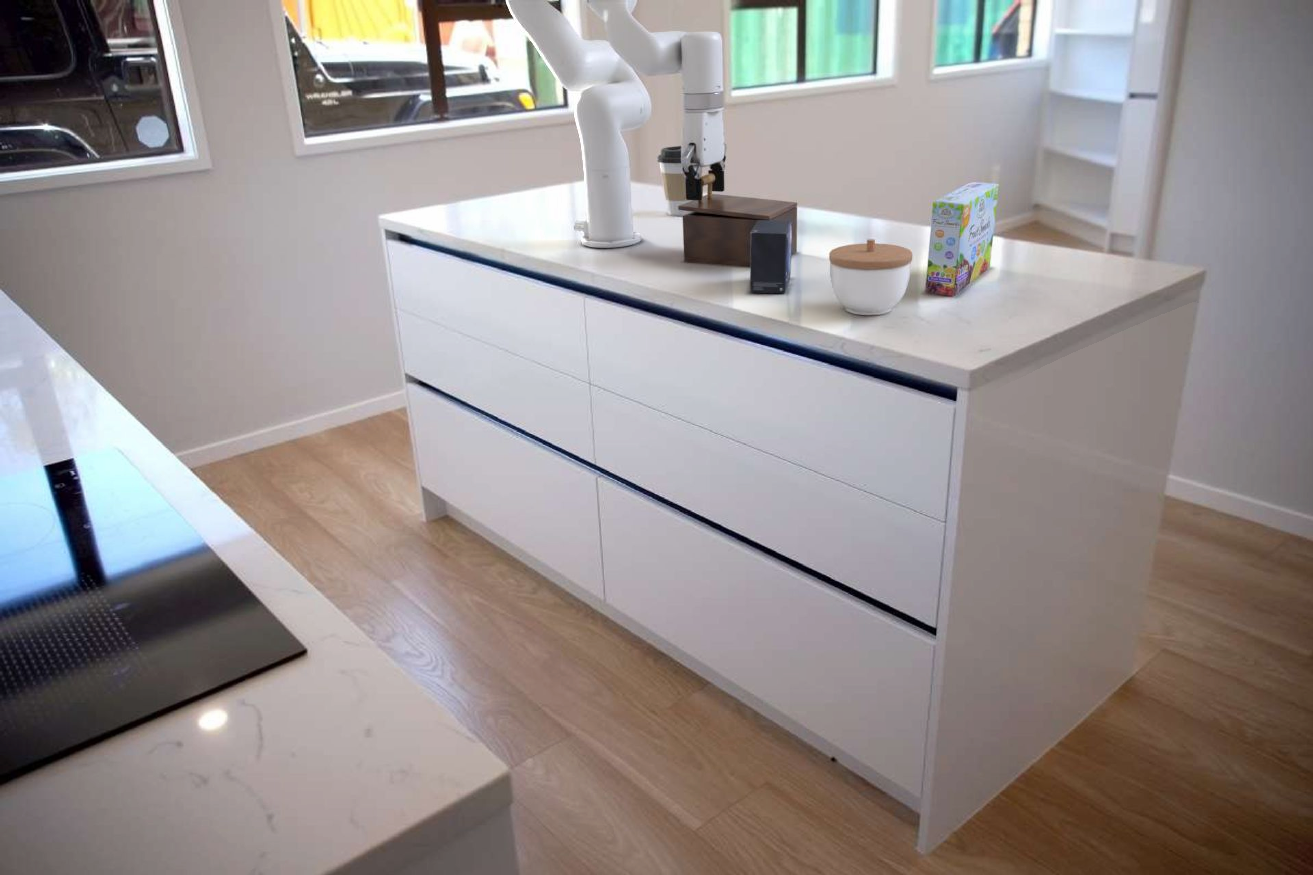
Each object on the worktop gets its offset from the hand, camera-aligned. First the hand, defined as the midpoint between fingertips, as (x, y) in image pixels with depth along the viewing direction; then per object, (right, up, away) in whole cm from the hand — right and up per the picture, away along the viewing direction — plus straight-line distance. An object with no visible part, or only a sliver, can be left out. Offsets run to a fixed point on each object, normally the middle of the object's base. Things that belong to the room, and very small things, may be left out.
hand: (705, 195), depth 193 cm
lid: (+6, -3, -2) cm, 7 cm away
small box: (+10, -21, -19) cm, 30 cm away
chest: (+7, -12, +1) cm, 14 cm away
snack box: (+43, -20, -22) cm, 52 cm away
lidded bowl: (+24, -27, -35) cm, 50 cm away
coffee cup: (-3, +7, +45) cm, 46 cm away
